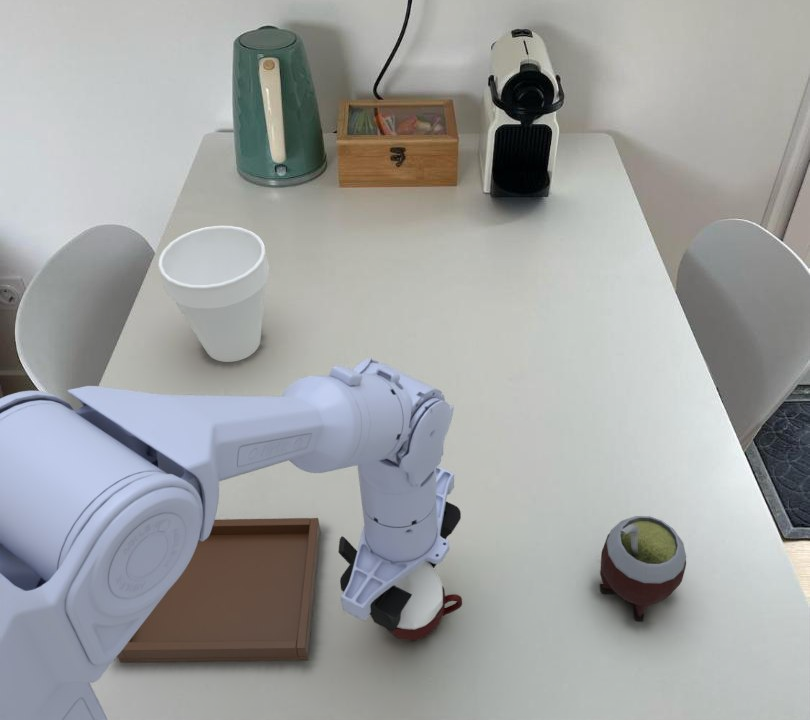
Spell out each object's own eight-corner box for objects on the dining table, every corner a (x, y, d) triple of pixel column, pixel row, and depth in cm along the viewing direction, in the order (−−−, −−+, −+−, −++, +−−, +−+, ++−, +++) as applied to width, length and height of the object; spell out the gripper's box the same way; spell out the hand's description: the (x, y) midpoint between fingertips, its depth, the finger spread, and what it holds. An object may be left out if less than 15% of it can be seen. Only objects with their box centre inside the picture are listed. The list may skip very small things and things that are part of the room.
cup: (205, 308, 107) (183, 220, 98) (294, 317, 105) (279, 229, 96) (167, 371, 99) (138, 281, 89) (263, 383, 96) (244, 292, 87)
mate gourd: (666, 559, 77) (699, 455, 67) (681, 636, 71) (721, 536, 61) (586, 556, 77) (607, 453, 67) (595, 633, 72) (620, 533, 61)
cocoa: (467, 606, 74) (469, 529, 66) (442, 667, 70) (440, 593, 62) (373, 571, 77) (364, 493, 69) (343, 627, 73) (330, 552, 65)
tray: (119, 662, 71) (113, 650, 70) (155, 532, 81) (150, 520, 80) (308, 660, 71) (305, 648, 69) (320, 530, 81) (318, 517, 79)
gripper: (395, 594, 55) (402, 685, 65) (488, 451, 64) (483, 550, 74) (311, 551, 58) (329, 645, 67) (411, 420, 67) (415, 519, 76)
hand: (405, 593), depth 71 cm, fingers closed on cocoa, 6 cm apart
